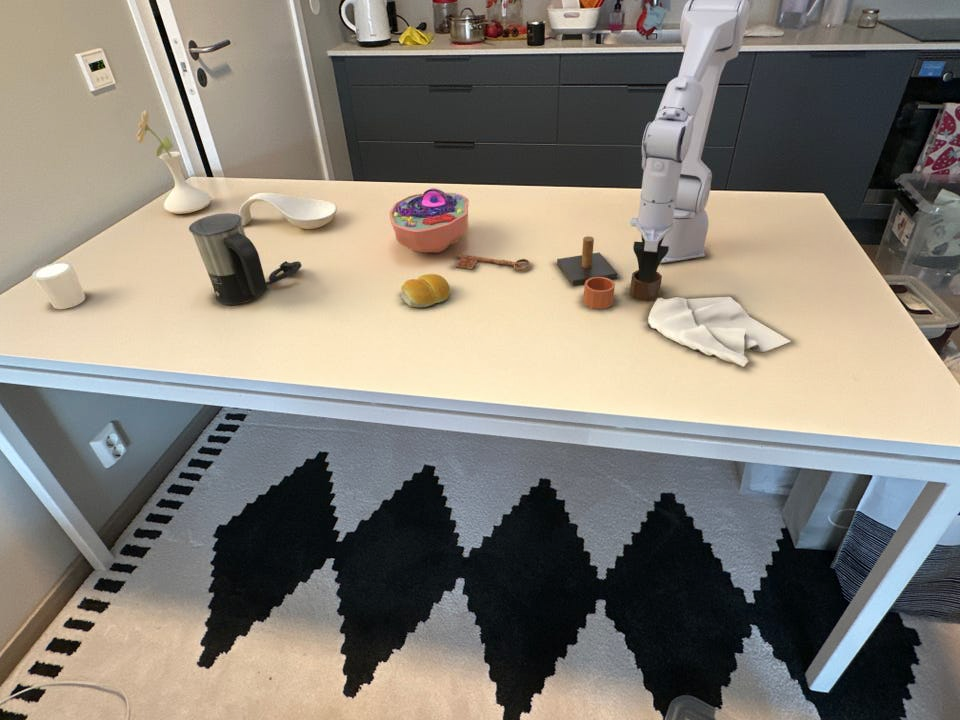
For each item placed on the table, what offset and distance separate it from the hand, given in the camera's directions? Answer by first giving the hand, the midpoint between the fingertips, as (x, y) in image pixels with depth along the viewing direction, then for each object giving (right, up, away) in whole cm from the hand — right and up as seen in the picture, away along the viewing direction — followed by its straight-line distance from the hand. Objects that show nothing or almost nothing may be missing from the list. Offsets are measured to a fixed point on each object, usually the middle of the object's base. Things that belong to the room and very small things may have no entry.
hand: (647, 270), depth 104 cm
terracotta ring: (-8, -5, +2) cm, 10 cm away
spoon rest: (-75, +16, +35) cm, 85 cm away
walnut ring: (0, -4, +3) cm, 5 cm away
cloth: (+9, -11, -7) cm, 16 cm away
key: (-27, +3, +14) cm, 31 cm away
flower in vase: (-105, +22, +45) cm, 116 cm away
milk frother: (-73, -2, +12) cm, 74 cm away
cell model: (-40, +9, +23) cm, 47 cm away
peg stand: (-9, +1, +11) cm, 14 cm away
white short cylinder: (-111, -5, +11) cm, 111 cm away
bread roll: (-40, -4, +6) cm, 41 cm away
